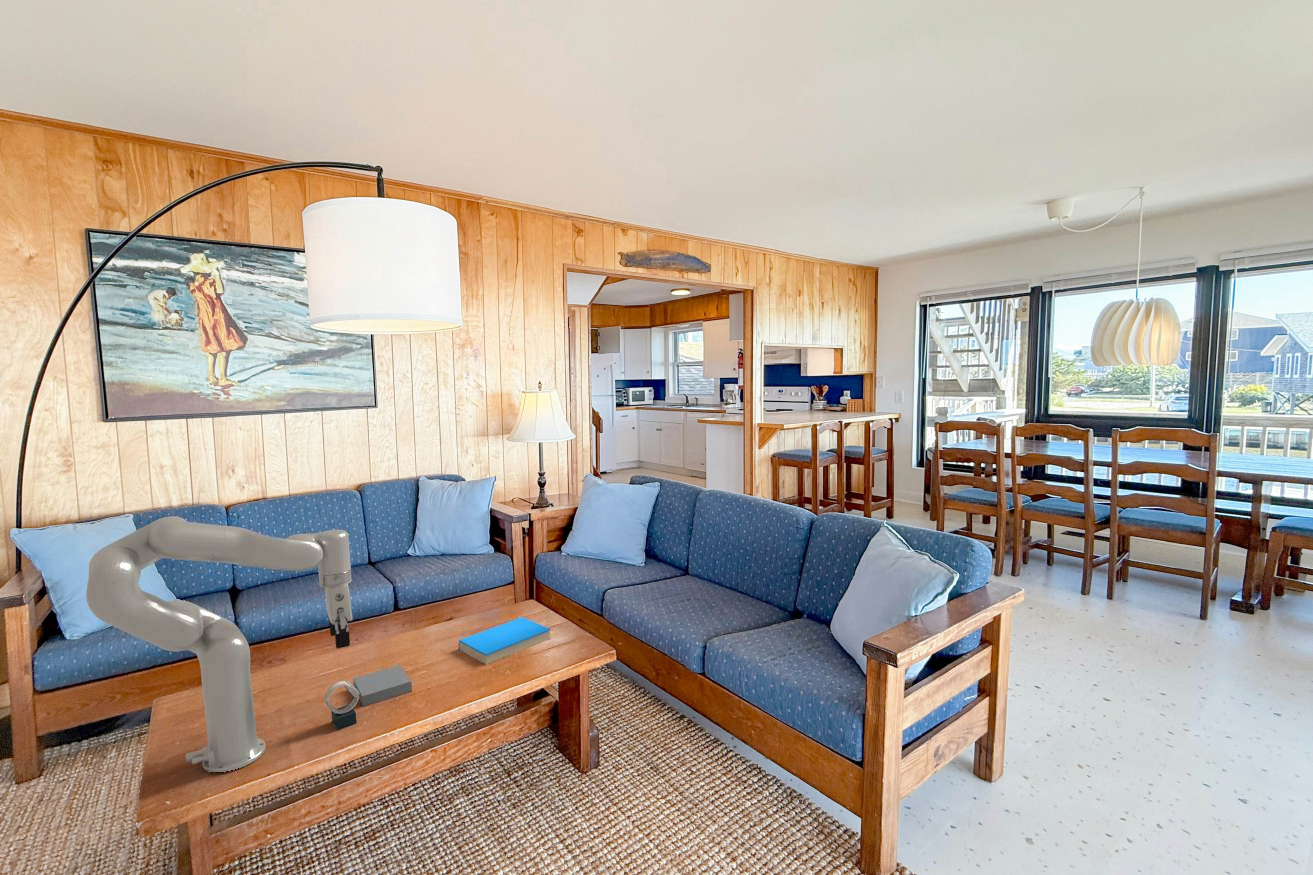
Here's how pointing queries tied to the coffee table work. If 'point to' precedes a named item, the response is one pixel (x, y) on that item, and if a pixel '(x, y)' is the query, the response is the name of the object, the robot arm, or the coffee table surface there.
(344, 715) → the watch
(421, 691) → the coffee table surface
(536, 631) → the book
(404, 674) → the plinth
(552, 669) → the coffee table surface
